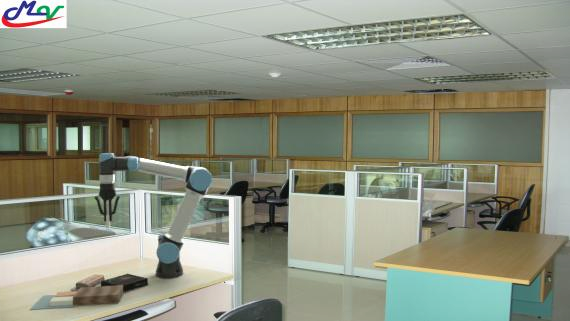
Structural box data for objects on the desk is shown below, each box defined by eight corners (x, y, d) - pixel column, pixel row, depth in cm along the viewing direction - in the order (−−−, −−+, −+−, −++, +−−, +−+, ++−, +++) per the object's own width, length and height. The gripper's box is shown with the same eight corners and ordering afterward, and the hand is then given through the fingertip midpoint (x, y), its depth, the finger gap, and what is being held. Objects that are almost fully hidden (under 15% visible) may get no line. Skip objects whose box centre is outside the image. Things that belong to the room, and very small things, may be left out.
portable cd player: (126, 280, 267) (126, 273, 267) (147, 285, 258) (147, 278, 258) (100, 288, 254) (100, 280, 254) (121, 294, 244) (121, 286, 244)
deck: (123, 293, 244) (122, 285, 244) (118, 302, 229) (118, 294, 229) (80, 295, 241) (80, 287, 240) (73, 305, 226) (72, 297, 226)
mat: (82, 293, 243) (82, 293, 243) (72, 307, 224) (72, 306, 224) (43, 296, 240) (43, 295, 240) (29, 310, 221) (29, 309, 221)
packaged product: (91, 273, 265) (108, 274, 263) (91, 282, 265) (108, 283, 263) (70, 282, 247) (87, 284, 245) (70, 292, 247) (87, 293, 245)
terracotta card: (79, 295, 240) (79, 290, 240) (77, 299, 234) (77, 294, 234) (57, 296, 238) (57, 292, 238) (54, 300, 232) (54, 296, 232)
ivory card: (76, 300, 232) (75, 296, 232) (72, 304, 226) (72, 300, 226) (53, 301, 230) (53, 297, 230) (49, 306, 225) (49, 301, 224)
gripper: (92, 183, 251) (93, 229, 252) (119, 183, 253) (120, 228, 254) (95, 182, 258) (96, 226, 259) (121, 181, 261) (122, 225, 262)
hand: (108, 227), depth 257 cm, fingers closed
